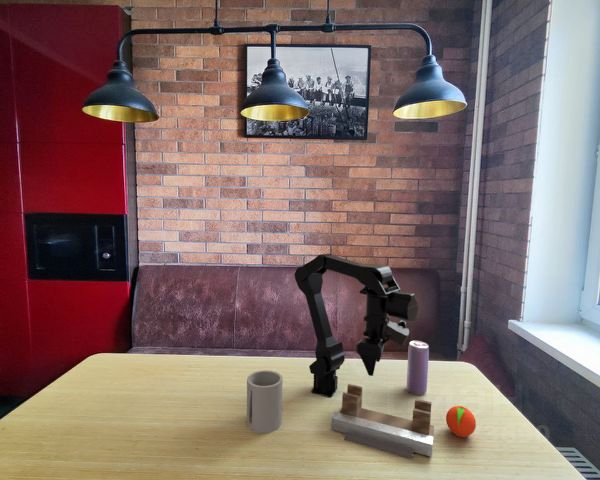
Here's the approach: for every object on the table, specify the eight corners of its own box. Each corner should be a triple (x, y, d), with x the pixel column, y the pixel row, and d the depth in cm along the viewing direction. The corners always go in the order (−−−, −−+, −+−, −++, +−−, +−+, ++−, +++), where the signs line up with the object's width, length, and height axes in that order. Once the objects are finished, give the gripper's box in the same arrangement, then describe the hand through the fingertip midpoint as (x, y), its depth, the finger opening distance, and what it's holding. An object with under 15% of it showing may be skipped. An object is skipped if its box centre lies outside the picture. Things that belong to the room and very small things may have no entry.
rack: (337, 417, 96) (338, 393, 95) (344, 406, 102) (345, 382, 101) (432, 442, 87) (434, 415, 86) (434, 428, 92) (435, 402, 92)
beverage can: (427, 397, 108) (430, 349, 106) (407, 394, 109) (409, 347, 107) (425, 387, 114) (427, 341, 112) (405, 384, 115) (407, 339, 113)
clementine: (472, 449, 85) (474, 421, 84) (441, 438, 88) (443, 411, 88) (476, 431, 92) (478, 405, 91) (447, 422, 95) (449, 397, 95)
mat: (344, 439, 87) (344, 438, 87) (351, 423, 94) (351, 422, 94) (412, 459, 81) (412, 457, 81) (415, 440, 88) (415, 439, 87)
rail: (331, 429, 91) (331, 417, 90) (334, 422, 93) (335, 411, 93) (431, 457, 81) (432, 444, 81) (432, 448, 84) (433, 436, 84)
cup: (286, 416, 96) (287, 373, 95) (273, 436, 88) (274, 390, 87) (256, 409, 99) (256, 367, 98) (240, 428, 91) (240, 383, 90)
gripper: (403, 327, 84) (400, 390, 86) (411, 307, 101) (408, 360, 103) (356, 320, 88) (354, 381, 90) (372, 302, 105) (370, 353, 107)
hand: (374, 368), depth 97 cm, fingers open, 9 cm apart
